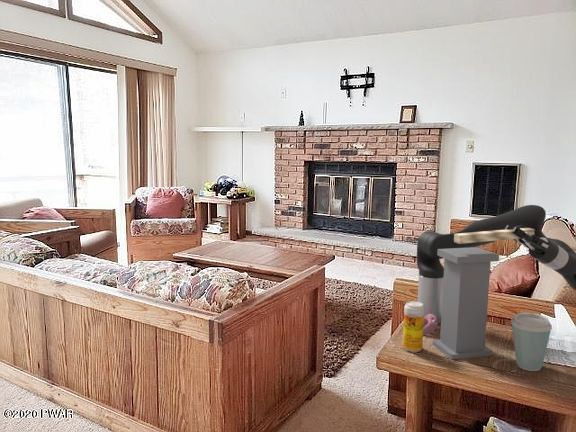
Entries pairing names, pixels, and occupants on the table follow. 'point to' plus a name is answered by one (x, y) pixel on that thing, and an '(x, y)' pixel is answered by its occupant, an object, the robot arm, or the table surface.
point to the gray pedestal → (465, 302)
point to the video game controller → (429, 324)
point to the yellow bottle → (413, 326)
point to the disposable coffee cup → (530, 339)
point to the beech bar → (488, 235)
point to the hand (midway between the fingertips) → (510, 228)
